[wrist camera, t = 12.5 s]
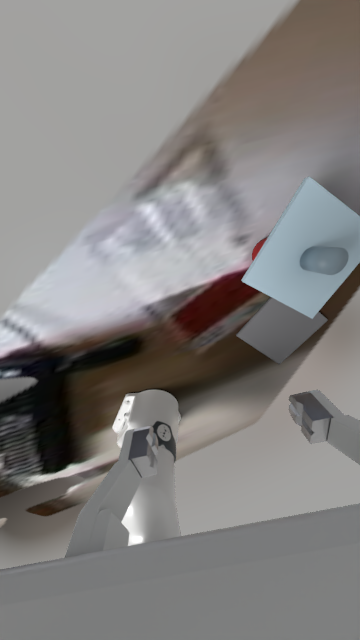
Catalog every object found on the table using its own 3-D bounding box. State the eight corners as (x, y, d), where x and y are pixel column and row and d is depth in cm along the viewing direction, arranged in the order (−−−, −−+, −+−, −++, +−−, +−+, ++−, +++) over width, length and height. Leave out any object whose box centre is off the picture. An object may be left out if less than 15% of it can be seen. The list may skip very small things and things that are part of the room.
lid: (308, 317, 30) (332, 329, 25) (241, 280, 27) (255, 288, 22) (376, 234, 25) (421, 232, 21) (304, 178, 22) (338, 162, 17)
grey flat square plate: (278, 363, 49) (279, 364, 48) (236, 334, 44) (236, 336, 44) (325, 318, 44) (327, 319, 43) (284, 282, 39) (285, 283, 39)
